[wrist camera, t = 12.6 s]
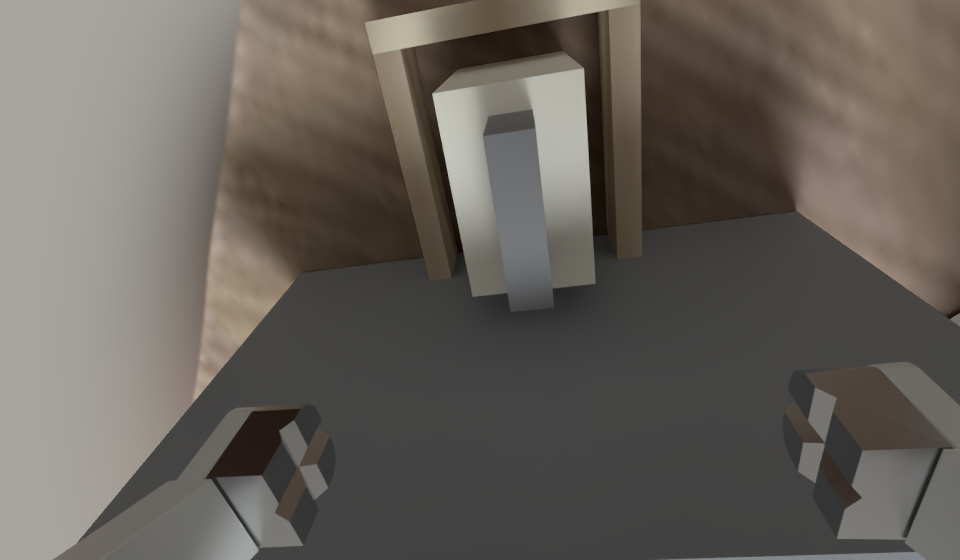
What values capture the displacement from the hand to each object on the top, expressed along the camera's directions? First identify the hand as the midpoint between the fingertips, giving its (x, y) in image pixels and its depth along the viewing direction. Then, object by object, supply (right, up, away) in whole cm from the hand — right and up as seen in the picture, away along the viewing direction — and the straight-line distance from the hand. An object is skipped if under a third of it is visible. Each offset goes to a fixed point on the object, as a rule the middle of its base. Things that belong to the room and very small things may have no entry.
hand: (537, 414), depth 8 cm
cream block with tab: (+1, +9, +16) cm, 19 cm away
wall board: (+2, +4, +19) cm, 20 cm away
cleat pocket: (+1, +9, +16) cm, 19 cm away
